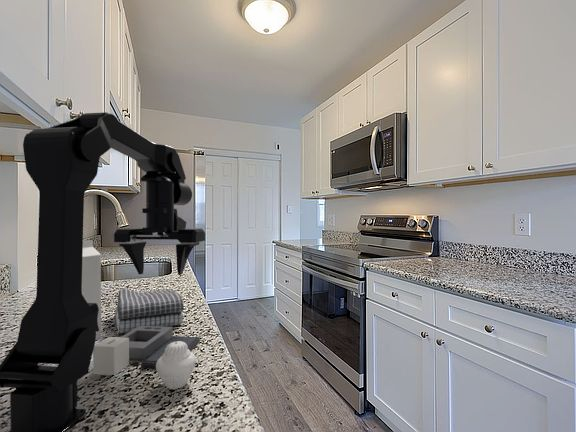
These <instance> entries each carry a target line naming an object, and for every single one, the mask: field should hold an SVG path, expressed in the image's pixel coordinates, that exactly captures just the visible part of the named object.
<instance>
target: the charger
mask: <svg viewBox="0 0 576 432" xmlns="http://www.w3.org/2000/svg"><path fill="white" fill-rule="evenodd" d="M129 365H130V360H129V338H123V337H122V336H108V337H107V338H104V339H103V340H101V341H99V342H98V343H95V345H94V349H93V353H92V375H94V374H97V376H109V375H114V376H117V374H119V373H121V372H122V371H123V370H124V369H126V367H128V366H129ZM114 376H113V377H114Z"/></svg>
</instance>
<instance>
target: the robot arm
mask: <svg viewBox="0 0 576 432" xmlns="http://www.w3.org/2000/svg"><path fill="white" fill-rule="evenodd" d="M22 149H23V157H24V164H25V170H26V172H27V174H28V175H29V177H30V179H31V181H32V182H33V183H34V185H35V186H36V188H37V189H38V192H39V199H38V201H39V203H38V204H39V205H38V228H37V229H38V232H37V233H38V234H37V260H36V262H37V264H36V265H37V266H36V294H35V295H36V296H35V299H34V301H33V303H32V304H31V305H30V307H29V308H28V309H27V311H26V313H25V314H24V316H23V317H22V319H21V321H20V326H19V332H18V336H17V341H16V342H15V344H14V345H13V346H12V348H11V349H10V350H9V352H7V354H6V356H5V358H3V360H2V361H1V363H0V389H1V388H2V389H4V388H9V389H10V388H12V389H14V390H12V391H11V392H10V393H9V395H10V396H9V397H10V398H9V401H10V402H9V404H10V405H9V406H10V409H9V410H10V411H9V413H10V415H9V416H10V419H9V421H10V430H9V431H8V432H62V431H63V430H64V429H66V428H67V427H69V426H70V425H72V424H73V423H74V424H75V423H77V422H78V421H79V420H80V419H81V418H83V417H84V416H85V415H86V414H87V410H86V409H85V408H77V407H78V380H80V379H81V378H83V377H84V376H86V375H88V373H89V369H90V365H91V362H92V358H93V349H94V345H96V340H97V339H96V332H98V331H99V327H98V322H97V319H98V311H99V308H98V305H97V303H87V301H86V300H85V298H84V297H83V295H82V254H83V241H84V211H85V209H84V208H85V207H84V206H85V205H84V204H85V198H84V197H85V192H86V191H87V190H88V188H89V187H90V185H91V184H92V183H93V181H94V180H95V178H96V177H97V175H98V170H99V163H100V159H101V157H102V156H103V155H104V154H105V153H107V152H108V151H109V150H111V149H112V150H114V151H116V152H119V153H121V154H122V155H124V156H127V157H129V158H130V159H133V160H134V161H136V163H137V164H136V165H137V167H138V168H139V169H141V170H142V171H143V172H145V174H144V175H142V176H141V177H140V181H141V182H144V183H145V207H143V208H142V213H141V214H145V227H142V228H117V229H116V231H115V232H114V234H113V243H119V244H118V247H122V248H123V250H124V251H125V252H126V254H127V255H128V257H129V258H130V260H131V262H132V264H133V266H134V268H135V270H136V272H137V274H139V275H143V274H144V268H145V262H144V261H145V260H144V259H145V257H144V249H145V247H146V244H147V241H143V240H170V241H172V240H173V241H174V240H175V241H176V240H177V241H178V242H179V243H177V244H175V254H176V255H175V256H176V269H177V275H178V276H181V275H183V272H184V270H185V266H186V264H187V261H188V259H189V257H190V254H191V252H192V251H193V249H194V247H195V246H198V245H200V242H205V241H206V232H205V230H204V229H203V228H187V221H186V220H184V219H183V218H181V217H180V216H178V208H175V206H185V205H188V204H189V203H190V202H191V200H192V197H193V191H192V188H191V187H190V186H189V185H188V184H187V183H185V182H186V181H185V180H186V179H187V177H186V174H185V171H184V167H183V164H182V161H181V158H180V155H179V153H178V152H177V151H176V149H175V147H173V146H170V145H167V144H162V143H156V142H153V141H150V140H149V139H147V138H146V137H144V136H143V135H141V134H140V133H138V131H135V130H134V129H133V128H131V127H129V126H127V125H126V124H125V123H123V122H121V121H120V120H119V119H118V118H117V117H116V115H115V114H113V113H110V112H107V111H105V112H103V111H102V112H86V113H82V114H81V115H79V116H77V117H75V118H73V119H70V120H69V121H65V122H61V123H59V124H56V125H53V126H49V127H46V128H45V127H44V128H36V129H32V130H31V131H30V132H28V133H26V134H25V136H24V138H23V143H22ZM154 233H156V234H154ZM40 364H46V365H40ZM47 364H50V365H47ZM53 365H54V366H53ZM55 365H57V366H55ZM84 414H85V415H84ZM83 415H84V416H83ZM82 416H83V417H82ZM79 418H80V419H79ZM78 419H79V420H78ZM77 420H78V421H77ZM76 421H77V422H76ZM74 424H73V425H74ZM73 425H72V426H73ZM69 428H70V427H69Z"/></svg>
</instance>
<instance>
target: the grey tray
mask: <svg viewBox="0 0 576 432" xmlns="http://www.w3.org/2000/svg"><path fill="white" fill-rule="evenodd" d="M173 330H174V327H173V326H168V327H160V326H138V327H137V328H135V329H133V330H132V331H130V332H128V333H124V335H121V337H123V338H129V361H140V362H142V361H143V360H144V359H146V358H147V357H148V356H149V355H151V354H152V353H153V352H154V351H156V350H157V349H158V348H159V347H161V346H162V345H163V344H164V343H166V342H167V341H168V340H169V339H171V338H172V337H173V336H174V332H173Z"/></svg>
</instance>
